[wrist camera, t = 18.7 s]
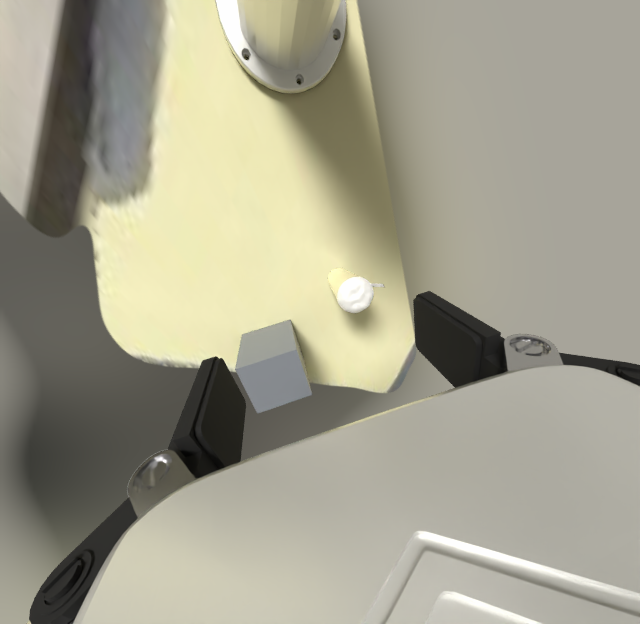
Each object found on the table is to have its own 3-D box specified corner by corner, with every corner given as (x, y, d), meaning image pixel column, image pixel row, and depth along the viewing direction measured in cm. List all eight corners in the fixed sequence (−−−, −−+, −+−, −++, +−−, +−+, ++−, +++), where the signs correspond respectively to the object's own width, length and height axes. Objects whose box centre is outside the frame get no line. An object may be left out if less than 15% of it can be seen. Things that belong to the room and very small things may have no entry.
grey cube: (242, 334, 37) (235, 369, 29) (290, 319, 37) (296, 349, 29) (259, 372, 40) (257, 413, 32) (303, 358, 41) (312, 394, 33)
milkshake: (361, 278, 37) (391, 300, 28) (332, 297, 37) (353, 326, 28) (347, 253, 35) (375, 269, 26) (317, 274, 35) (334, 296, 26)
